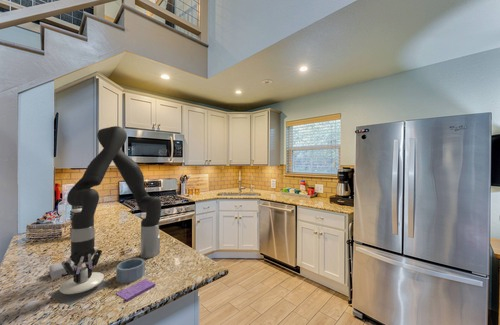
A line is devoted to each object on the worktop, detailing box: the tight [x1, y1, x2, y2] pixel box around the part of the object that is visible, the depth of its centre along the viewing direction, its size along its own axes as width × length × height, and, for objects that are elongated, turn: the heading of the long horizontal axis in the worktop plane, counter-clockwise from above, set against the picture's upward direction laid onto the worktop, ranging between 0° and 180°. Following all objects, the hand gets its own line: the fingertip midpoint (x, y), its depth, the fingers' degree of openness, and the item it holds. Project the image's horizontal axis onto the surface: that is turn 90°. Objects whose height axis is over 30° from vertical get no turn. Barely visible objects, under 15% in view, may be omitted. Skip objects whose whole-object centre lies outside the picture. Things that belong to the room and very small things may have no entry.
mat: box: [47, 280, 112, 306], centre depth 85 cm, size 15×15×1 cm
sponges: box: [115, 278, 156, 303], centre depth 85 cm, size 7×13×2 cm, turn 150°
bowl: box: [115, 257, 146, 284], centre depth 95 cm, size 11×11×6 cm
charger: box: [49, 261, 74, 281], centre depth 99 cm, size 5×9×15 cm
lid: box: [59, 266, 105, 294], centre depth 85 cm, size 14×14×6 cm
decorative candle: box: [69, 205, 83, 240], centre depth 146 cm, size 9×9×25 cm
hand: (82, 279), depth 85 cm, fingers closed on lid, 3 cm apart
